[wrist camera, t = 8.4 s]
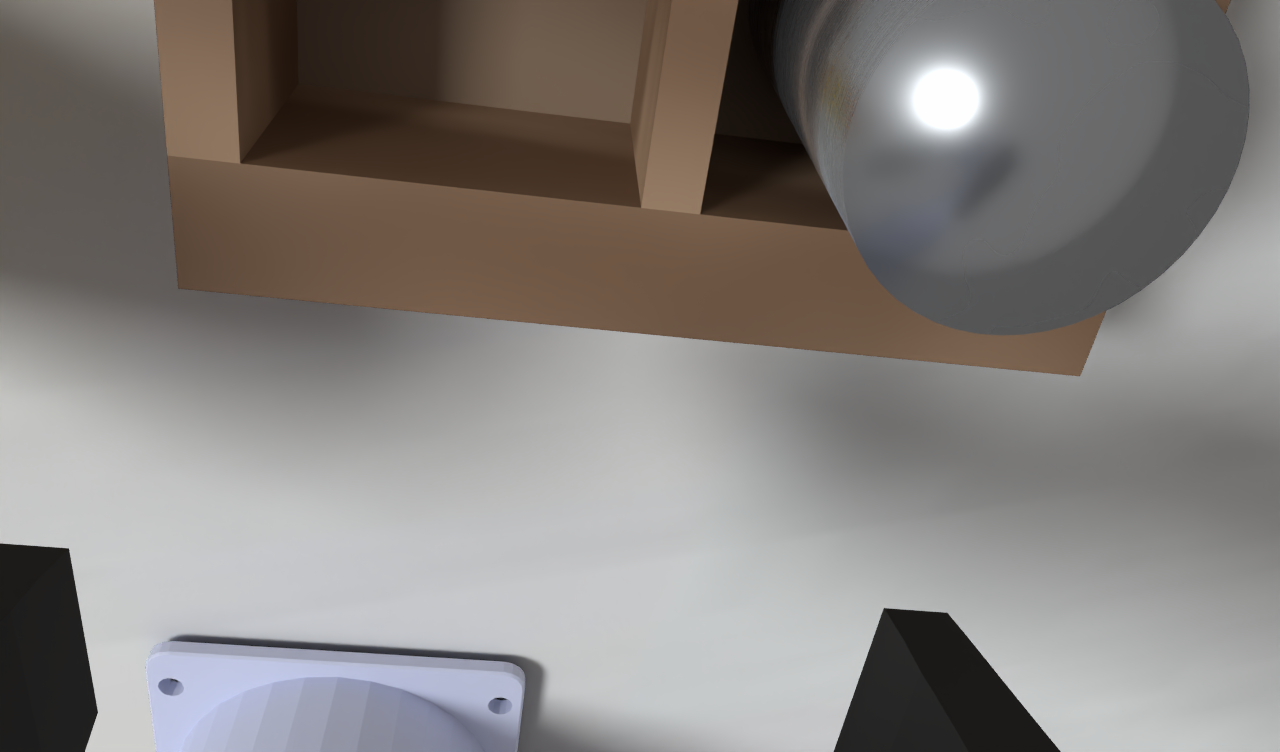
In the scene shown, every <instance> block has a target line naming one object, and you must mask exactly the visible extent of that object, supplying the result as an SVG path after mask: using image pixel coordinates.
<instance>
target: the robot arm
mask: <svg viewBox="0 0 1280 752" xmlns="http://www.w3.org/2000/svg"><path fill="white" fill-rule="evenodd" d="M145 669H146V677H147V684H148V692H149V700H150V708H151V716H152V724H153V732H154V740H155V747H156V752H517V751H518V742H519V734H520V726H521V717H522V709H523V701H524V692H525V674H524V672H523V671H522V669H521V668H520V667H518V666H516V665H515V664H513V663H508V662H501V661H485V660H469V659H453V658H437V657H421V656H405V655H388V654H372V653H356V652H340V651H324V650H308V649H292V648H275V647H259V646H243V645H227V644H211V643H195V642H179V641H168V642H162V643H159V644H157V645H155V646H154V648H153V649H152V650H151V652H150V654H149V656H148V658H147V660H146V666H145ZM168 678H172V679H176V680H178V681H179V682H176V681H172V680H170V679H168ZM500 697H501V698H505V699H507V700H501V701H500V700H496V699H494V698H500ZM97 714H98V711H97V705H96V699H95V694H94V688H93V682H92V677H91V671H90V665H89V660H88V654H87V648H86V643H85V637H84V632H83V626H82V620H81V615H80V609H79V603H78V598H77V592H76V586H75V581H74V575H73V569H72V564H71V558H70V552H69V549H68V548H54V547H41V546H27V545H13V544H0V752H85V749H86V746H87V743H88V740H89V737H90V734H91V731H92V728H93V725H94V722H95V719H96V716H97ZM834 752H1061V751H1060V750H1059V749H1058V748H1057V747H1056V745H1055V744H1054V743H1053V742H1052V741H1051V739H1050V738H1049V737H1048V736H1047V735H1046V733H1045V732H1044V731H1043V730H1042V729H1041V727H1040V726H1039V725H1038V724H1037V722H1036V721H1035V720H1034V719H1033V717H1032V716H1031V715H1030V714H1029V713H1028V711H1027V710H1026V709H1025V708H1024V706H1023V705H1022V704H1021V703H1020V702H1019V700H1018V699H1017V698H1016V697H1015V695H1014V694H1013V693H1012V692H1011V690H1010V689H1009V688H1008V687H1007V686H1006V684H1005V683H1004V682H1003V681H1002V679H1001V678H1000V677H999V676H998V674H997V673H996V672H995V671H994V669H993V668H992V667H991V666H990V664H989V663H988V662H987V661H986V659H985V658H984V657H983V656H982V655H981V653H980V652H979V651H978V650H977V648H976V647H975V646H974V645H973V643H972V642H971V641H970V640H969V638H968V637H967V636H966V635H965V634H964V632H963V631H962V630H961V629H960V628H959V626H958V625H957V624H956V623H955V622H954V620H953V619H952V618H951V617H950V616H949V614H948V613H941V612H928V611H914V610H900V609H887V608H884V610H883V612H882V615H881V618H880V621H879V624H878V627H877V630H876V632H875V635H874V638H873V641H872V644H871V647H870V650H869V652H868V655H867V658H866V661H865V664H864V667H863V670H862V672H861V675H860V678H859V681H858V684H857V687H856V690H855V692H854V695H853V698H852V701H851V704H850V707H849V710H848V712H847V715H846V718H845V721H844V724H843V727H842V730H841V732H840V735H839V738H838V741H837V744H836V747H835V750H834Z"/></svg>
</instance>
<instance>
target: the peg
mask: <svg viewBox="0 0 1280 752" xmlns="http://www.w3.org/2000/svg"><path fill="white" fill-rule="evenodd" d="M748 16H749V26H750V32H751V36H752V41H753V45H754V48H755V50H756V53H757V56H758V58H759V61H760V63H761V65H762V67H763V69H764V71H765V72H766V74H767V76H768V78H769V80H770V82H771V84H772V86H773V88H774V90H775V92H776V93H777V95H778V97H779V99H780V101H781V103H782V105H783V107H784V109H785V111H786V113H787V115H788V116H789V118H790V120H791V122H792V124H793V126H794V128H795V130H796V132H797V134H798V136H799V138H800V139H801V141H802V143H803V145H804V147H805V149H806V151H807V153H808V155H809V157H810V159H811V160H812V162H813V164H814V166H815V168H816V170H817V172H818V174H819V176H820V178H821V180H822V182H823V183H824V185H825V187H826V189H827V191H828V193H829V195H830V197H831V199H832V201H833V203H834V205H835V206H836V208H837V210H838V212H839V214H840V216H841V218H842V220H843V222H844V224H845V226H846V227H847V229H848V231H849V233H850V235H851V237H852V239H853V241H854V243H855V245H856V247H857V249H858V250H859V252H860V254H861V256H862V258H863V259H864V261H865V263H866V265H867V267H868V268H869V269H870V271H871V272H872V273H873V275H874V276H875V277H876V279H877V280H878V281H879V283H880V284H881V285H882V286H883V287H884V288H885V289H886V290H887V291H888V292H889V293H890V294H891V295H893V296H894V297H895V298H896V299H897V300H898V301H900V302H901V303H902V304H904V305H905V306H907V307H908V308H909V309H911V310H912V311H914V312H915V313H917V314H919V315H921V316H923V317H925V318H927V319H929V320H931V321H933V322H936V323H938V324H941V325H944V326H947V327H950V328H953V329H956V330H961V331H966V332H971V333H976V334H987V335H1000V336H1001V335H1025V334H1031V333H1038V332H1044V331H1050V330H1053V329H1057V328H1061V327H1065V326H1068V325H1072V324H1075V323H1078V322H1080V321H1083V320H1085V319H1088V318H1091V317H1093V316H1096V315H1098V314H1100V313H1102V312H1104V311H1106V310H1108V309H1110V308H1112V307H1114V306H1116V305H1118V304H1120V303H1122V302H1123V301H1125V300H1126V299H1128V298H1129V297H1131V296H1133V295H1134V294H1136V293H1137V292H1139V291H1141V290H1142V289H1143V288H1145V287H1146V286H1147V285H1149V284H1150V283H1151V282H1152V281H1154V280H1155V279H1156V278H1158V277H1159V276H1160V275H1161V274H1163V273H1164V272H1165V271H1166V270H1167V269H1168V268H1169V267H1170V266H1171V265H1172V264H1173V263H1174V262H1175V261H1176V260H1178V259H1179V258H1180V257H1181V256H1182V255H1183V254H1184V252H1185V251H1186V250H1187V249H1188V248H1189V247H1190V245H1191V244H1192V243H1193V242H1194V241H1195V240H1196V239H1197V237H1198V236H1199V235H1200V234H1201V232H1202V231H1203V229H1204V228H1205V227H1206V225H1207V224H1208V222H1209V221H1210V219H1211V218H1212V217H1213V215H1214V214H1215V212H1216V210H1217V209H1218V207H1219V205H1220V203H1221V201H1222V199H1223V198H1224V196H1225V194H1226V192H1227V190H1228V188H1229V186H1230V184H1231V181H1232V179H1233V176H1234V174H1235V171H1236V169H1237V166H1238V164H1239V160H1240V157H1241V153H1242V149H1243V146H1244V142H1245V138H1246V131H1247V124H1248V117H1249V84H1248V76H1247V69H1246V63H1245V60H1244V56H1243V53H1242V50H1241V46H1240V43H1239V40H1238V38H1237V36H1236V34H1235V32H1234V30H1233V28H1232V26H1231V24H1230V22H1229V20H1228V18H1227V16H1226V15H1225V14H1224V12H1223V11H1222V9H1221V8H1220V7H1219V5H1218V4H1217V3H1216V1H1215V0H749V1H748Z"/></svg>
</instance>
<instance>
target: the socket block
mask: <svg viewBox="0 0 1280 752" xmlns="http://www.w3.org/2000/svg"><path fill="white" fill-rule="evenodd" d="M748 1H749V0H154V6H155V18H156V30H157V42H158V54H159V65H160V77H161V89H162V101H163V112H164V124H165V136H166V148H167V160H168V171H169V183H170V195H171V207H172V219H173V230H174V242H175V254H176V266H177V277H178V288H179V289H189V290H199V291H209V292H220V293H230V294H240V295H250V296H261V297H271V298H281V299H292V300H302V301H312V302H322V303H333V304H343V305H353V306H363V307H374V308H384V309H394V310H405V311H415V312H425V313H435V314H446V315H456V316H466V317H476V318H487V319H497V320H507V321H518V322H528V323H538V324H548V325H559V326H569V327H579V328H590V329H600V330H610V331H620V332H631V333H641V334H651V335H661V336H672V337H682V338H692V339H703V340H713V341H723V342H733V343H744V344H754V345H764V346H774V347H785V348H795V349H805V350H816V351H826V352H836V353H846V354H857V355H867V356H877V357H887V358H898V359H908V360H918V361H929V362H939V363H949V364H959V365H970V366H980V367H990V368H1000V369H1011V370H1021V371H1031V372H1042V373H1052V374H1062V375H1072V376H1080V375H1081V373H1082V370H1083V368H1084V365H1085V363H1086V360H1087V358H1088V355H1089V353H1090V350H1091V348H1092V345H1093V343H1094V340H1095V338H1096V335H1097V333H1098V330H1099V328H1100V325H1101V323H1102V320H1103V318H1104V315H1105V313H1106V311H1104V312H1102V313H1100V314H1098V315H1096V316H1093V317H1091V318H1088V319H1085V320H1083V321H1080V322H1078V323H1075V324H1072V325H1068V326H1065V327H1061V328H1057V329H1053V330H1050V331H1044V332H1038V333H1031V334H1025V335H1001V336H1000V335H987V334H976V333H971V332H966V331H961V330H956V329H953V328H950V327H947V326H944V325H941V324H938V323H936V322H933V321H931V320H929V319H927V318H925V317H923V316H921V315H919V314H917V313H915V312H914V311H912V310H911V309H909V308H908V307H907V306H905V305H904V304H902V303H901V302H900V301H898V300H897V299H896V298H895V297H894V296H893V295H891V294H890V293H889V292H888V291H887V290H886V289H885V288H884V287H883V286H882V285H881V284H880V283H879V281H878V280H877V279H876V277H875V276H874V275H873V273H872V272H871V271H870V269H869V268H868V267H867V265H866V263H865V261H864V259H863V258H862V256H861V254H860V252H859V250H858V249H857V247H856V245H855V243H854V241H853V239H852V237H851V235H850V233H849V231H848V229H847V227H846V226H845V224H844V222H843V220H842V218H841V216H840V214H839V212H838V210H837V208H836V206H835V205H834V203H833V201H832V199H831V197H830V195H829V193H828V191H827V189H826V187H825V185H824V183H823V182H822V180H821V178H820V176H819V174H818V172H817V170H816V168H815V166H814V164H813V162H812V160H811V159H810V157H809V155H808V153H807V151H806V149H805V147H804V145H803V143H802V141H801V139H800V138H799V136H798V134H797V132H796V130H795V128H794V126H793V124H792V122H791V120H790V118H789V116H788V115H787V113H786V111H785V109H784V107H783V105H782V103H781V101H780V99H779V97H778V95H777V93H776V92H775V90H774V88H773V86H772V84H771V82H770V80H769V78H768V76H767V74H766V72H765V71H764V69H763V67H762V65H761V63H760V61H759V58H758V56H757V53H756V50H755V48H754V45H753V41H752V36H751V32H750V26H749V16H748ZM1215 1H1216V3H1217V4H1218V5H1219V7H1220V8H1221V9H1222V11H1223V12H1224V14H1225V13H1226V11H1227V8H1228V6H1229V3H1230V1H1231V0H1215Z"/></svg>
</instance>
